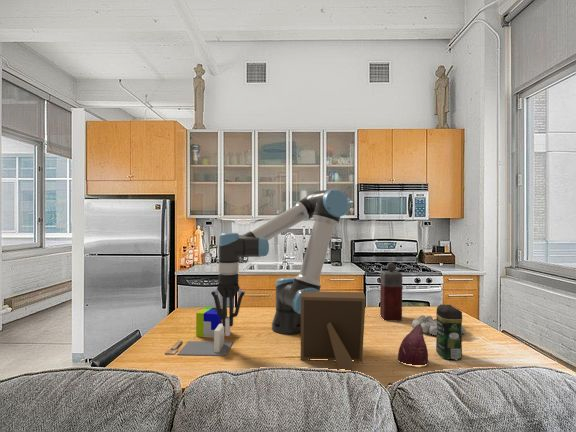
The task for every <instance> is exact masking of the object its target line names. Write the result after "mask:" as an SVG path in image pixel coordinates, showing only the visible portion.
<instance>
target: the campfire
mask: <svg viewBox="0 0 576 432" xmlns="http://www.w3.org/2000/svg"><path fill="white" fill-rule="evenodd" d="M419 324H421V326H422V330H423V334H428V333H429V335H431V334H432V335H431V336H433V335H434V336H435V335H437V317H436V318H433V316H432V315H428V316H425V315H420V316H419V317H418V318H415V319H413V320H412V322H411V328H412V329H414V328H415V327H416V326H417V325H419ZM461 332H462V333H465V334H466V333H467V330H466V329H465V327H464V326H463V325H462V327H461Z"/></svg>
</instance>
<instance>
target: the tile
mask: <svg viewBox="0 0 576 432" xmlns="http://www.w3.org/2000/svg"><path fill="white" fill-rule="evenodd" d="M213 342H214V352H220V350H221V349H222V347H223V345H224V342H225V333H224V326H223V324H219V325H218V326H217V328H216V329H215V330H214V338H213Z"/></svg>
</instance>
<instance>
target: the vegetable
mask: <svg viewBox="0 0 576 432" xmlns="http://www.w3.org/2000/svg"><path fill="white" fill-rule="evenodd" d="M427 346H428V345H427V344H426V341H425V337H424V332H423V330H422V326H421V324H419V325H417V326H416V327H415V328H412V330H410V332H408V334H406V335H405V336H404V338H403V340H402V341H401V343H400V345H399V349H398V354H397V361H398V360H399V361H400V362H403V363H406V364H412V365H425V364H427V363H428V364H429V351H428V347H427Z"/></svg>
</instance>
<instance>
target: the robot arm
mask: <svg viewBox="0 0 576 432" xmlns="http://www.w3.org/2000/svg"><path fill="white" fill-rule="evenodd" d="M348 208H349V200H348V198H347V196H346V193H344V192H343V191H341V189H336V188H335V189H332V188H329V189H324V190H323V189H322V190H317V191H313V192H312V193H310V194H308V195H307V196H305V197H304V198H302V199H300V200H298V201H297V202H295V205H294V206H292V207H290V208H289V209H287V210H285V211H283V212H281V213H280V214H278V215H276V216H274V217H272V218H271V219H269V220H267V221H266V222H265V221H264V223H262V224H260V225H258V226H257V227H255V228H253V229H251V230H250V231H248V232H246V233H244V234H241V235H240V234H239V233H238V232H222V233H220V235H219V239H218V273H219V274H218V286H217V288H216V289H214V290H212V291H211V295H212V297H213V299H214V305H215V308H216V309H217V314H218V316H220V317H222V318H223V326H225V333H224V337H226V336H227V337H229V336H230V335H231V327H233V326H234V318H236V317H237V316H238V315H239V311H240V307H241V304H242V300H243V297H244V295H245V294H246V291H244V290H242V289H241V288H240V285H239V274H238V273H239V270H240V269H239V260H240V259H239V258H252V257H253V258H256V257H258V258H261V257H267V256H268V254H269V251H270V243H269V241H271V240H272V239H274V238H275V237H277V236H278V235H280V234H282V233H284V232H285V231H287V230H288V229H291V228H292V227H294V226H296V225H298V224H299V223H301V222H303V221H306V222H307V221H309V220H311V219H313V220H314V222H313V226H312V230H311V233H310V236H309V240H308V242H307V243H308V244H307V245H306V250H305V253H304V257H303V260H302V263H301V267H300V270H299V273H298V275H296V276H295V277H282V278H277V280H276V283H275V313H274V317H273V320H272V323H271V330H272V331H273V332H275V333H278V334H284V335H293V334H299V333H300V334H301V291H316V292H321V291H320V290H321V288H322V287H321V286H322V284H321V283H320V277H321V274H322V272H323V271H322V270H323V266H324V263H325V260H326V257H327V252H328V250H329V249H328V248H329V245H330V241H331V238H332V236H333V235H332V234H333V232H334V228H335V227H336V226H337V225H339V224H340V220H341V217H342V216H344V215H345V214H346V213H347V211H348ZM237 293H238V297H237V298H238V299H237V301H236V306H235V307H234V302H235V301H234V300H235V296H236V295H237ZM219 295H220V296H221V297H222V306H221V302H220V297H219ZM228 298H229V299H228ZM228 301H229V302H228ZM228 303H229V304H228ZM228 305H229V306H228ZM228 307H229V309H228ZM221 308H223V313H222V310H221ZM234 309H235V310H234ZM228 311H229V314H228ZM228 315H229V316H228Z"/></svg>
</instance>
